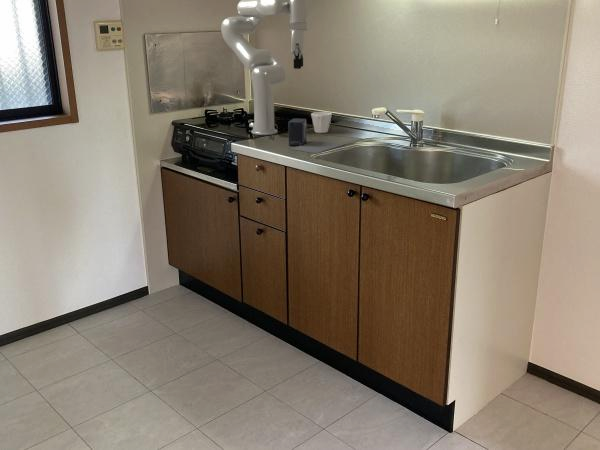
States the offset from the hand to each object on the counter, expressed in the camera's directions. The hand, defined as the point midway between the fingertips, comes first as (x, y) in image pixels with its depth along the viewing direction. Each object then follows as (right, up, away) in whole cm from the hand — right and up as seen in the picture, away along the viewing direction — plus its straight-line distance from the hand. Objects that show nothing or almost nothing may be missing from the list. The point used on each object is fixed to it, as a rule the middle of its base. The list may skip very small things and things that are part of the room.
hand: (298, 67), depth 277 cm
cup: (+11, -25, +28) cm, 39 cm away
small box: (0, -33, +3) cm, 34 cm away
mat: (+8, -36, -4) cm, 37 cm away
